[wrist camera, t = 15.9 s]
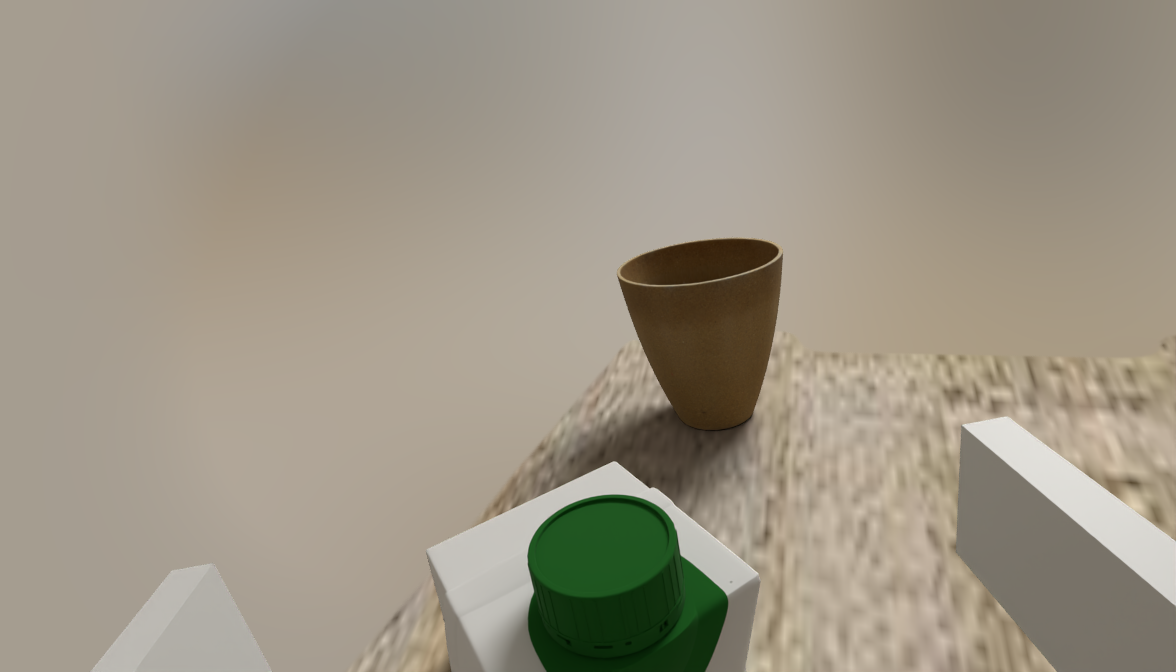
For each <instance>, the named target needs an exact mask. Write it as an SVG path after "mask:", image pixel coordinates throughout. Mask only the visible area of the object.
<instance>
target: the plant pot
mask: <svg viewBox="0 0 1176 672" xmlns="http://www.w3.org/2000/svg"><path fill="white" fill-rule="evenodd" d="M782 260H783V249H782V247H781V246H779V245H778V244H776V243H774V242H771V241H767V240H762V239H755V238H716V239H706V240H698V241H691V242H685V243H680V244H675V245H670V246H666V247H662V248H658V249H655V250H652V251H649V252H646V253H643V254H640V255H638V256H636V257H634V258H632V259H630V260H628V261H627V262H625V263H624V264H623V265H621V266H620V267H619V269H618V270H617V276H618V279H619V282H620V286H621V289H622V292H623V295H624V298H625V301H626V304H627V307H628V310H629V313H630V316H631V319H632V322H633V324H634V327H635V330H636V332H637V335H638V337H639V340H640V342H641V345H642V347H643V349H644V352H645V354H646V356H647V358H648V361H649V363H650V365H651V367H652V369H653V371H654V373H655V375H656V377H657V379H658V381H659V383H660V385H661V387H662V389H663V390H664V392H665V394H666V396H667V398H668V400H669V401H670V403H671V405H672V406H673V408H674V410H675V411H676V413H677V415H678V416H679V418H680V419H681V421H682V422H684V423H685V424H687V425H688V426H691V427H694V428H697V429H703V430H720V429H726V428H730V427H734V426H737V425H739V424H741V423H743V422H745V421H746V420H747V419H749V418H750V417H751V415H752V414H753V411H754V408H755V405H756V402H757V399H758V396H759V393H760V390H761V387H762V383H763V380H764V376H765V373H766V369H767V365H768V361H769V356H770V352H771V347H772V342H773V337H774V331H775V325H776V319H777V313H778V305H779V297H780V287H781V275H782Z"/></svg>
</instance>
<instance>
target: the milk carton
mask: <svg viewBox="0 0 1176 672" xmlns="http://www.w3.org/2000/svg"><path fill="white" fill-rule="evenodd" d="M426 554H427V557H428V562H429V565H430V569H431V573H432V576H433V580H434V584H435V587H436V591H437V595H438V598H439V602H440V606H441V610H442V614H443V618H444V622H445V632H446V641H447V649H448V655H449V661H450V667H451V672H746V660H747V654H748V649H749V643H750V637H751V632H752V626H753V621H754V615H755V609H756V604H757V598H758V593H759V587H760V581H761V580H760V578H759V574H758V573H757V572H756V571H755V570H754V569H752V568H751V567H750V566H749V565H748V564H746V563H745V562H744V561H743V560H741V559H740V558H739V557H738V556H737V555H735V554H734V553H733V552H732V551H730V550H729V549H728V548H727V547H726V546H724V545H723V544H722V543H721V542H719V541H718V540H717V539H716V538H714V537H713V536H712V535H711V534H710V533H708V532H707V531H706V530H705V529H703V528H702V527H701V526H700V525H699V524H697V523H696V522H695V521H694V520H692V519H691V518H690V517H689V516H688V515H686V514H685V513H684V512H683V511H681V510H680V509H679V508H678V507H676V506H675V505H674V503H673V502H672V501H671V500H670V499H669V498H668V497H667V496H665V495H664V494H663V493H662V492H660V491H659V490H658V489H656V488H650V489H649V488H648V487H647V486H646V485H644V484H643V483H642V482H641V481H639V480H638V479H637V478H636V477H634V476H633V475H632V474H631V473H629V472H628V471H627V470H626V469H624V468H623V467H622V466H621V465H619V464H618V463H617V462H615V461H613V462H611V463H609V464H607V465H604V466H602V467H600V468H598V469H596V470H594V471H592V472H590V473H588V474H585V475H583V476H581V477H579V478H577V479H575V480H573V481H571V482H568V483H566V484H564V485H562V486H560V487H558V488H556V489H554V490H551V491H549V492H547V493H545V494H543V495H541V496H539V497H537V498H535V499H532V500H530V501H528V502H526V503H524V504H522V505H520V506H518V507H515V508H513V509H511V510H509V511H507V512H505V513H503V514H501V515H499V516H496V517H494V518H492V519H490V520H488V521H486V522H484V523H482V524H479V525H477V526H475V527H473V528H471V529H469V530H467V531H465V532H462V533H460V534H458V535H456V536H454V537H452V538H450V539H448V540H446V541H443V542H442V543H439V544H437V545H435V546H433V547H431V548H429V549H427V550H426Z"/></svg>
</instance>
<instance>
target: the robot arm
mask: <svg viewBox="0 0 1176 672" xmlns="http://www.w3.org/2000/svg"><path fill="white" fill-rule="evenodd" d="M956 553H957V554H958V555H959V556H960V557H961V559H962V560H963V561H964V562H965V563H966V565H967V566H968V567H969V568H970V569H971V570H972V572H973V573H974V574H975V575H976V576H977V578H978V579H979V580H980V581H981V582H982V583H983V585H984V586H985V587H986V588H987V589H988V590H989V592H990V593H991V594H992V595H993V596H994V598H995V599H996V600H997V601H998V602H999V603H1000V605H1001V606H1002V607H1003V608H1004V609H1005V611H1006V612H1007V613H1008V614H1009V615H1010V616H1011V618H1012V619H1013V620H1014V621H1015V622H1016V624H1017V625H1018V626H1019V627H1020V628H1021V629H1022V631H1023V632H1024V633H1025V634H1026V635H1027V637H1028V638H1029V639H1030V640H1031V641H1032V642H1033V644H1034V645H1035V646H1036V647H1037V648H1038V650H1039V651H1040V652H1041V653H1042V654H1043V655H1044V657H1045V658H1046V659H1047V660H1048V661H1049V663H1050V664H1051V665H1052V666H1053V667H1054V668H1055V670H1056V671H1057V672H1176V541H1175V540H1173V539H1172V538H1171V537H1169V536H1168V535H1167V534H1165V533H1164V532H1163V531H1161V530H1160V529H1158V528H1157V527H1156V526H1154V525H1153V524H1152V523H1150V522H1149V521H1148V520H1146V519H1145V518H1144V517H1142V516H1141V515H1140V514H1138V513H1137V512H1136V511H1134V510H1133V509H1131V508H1130V507H1129V506H1127V505H1126V504H1125V503H1123V502H1122V501H1121V500H1119V499H1118V498H1117V497H1115V496H1114V495H1113V494H1111V493H1110V492H1109V491H1107V490H1106V489H1104V488H1103V487H1102V486H1100V485H1099V484H1098V483H1096V482H1095V481H1094V480H1092V479H1091V478H1090V477H1088V476H1087V475H1086V474H1084V473H1083V472H1082V471H1080V470H1079V469H1077V468H1076V467H1075V466H1073V465H1072V464H1071V463H1069V462H1068V461H1067V460H1065V459H1064V458H1063V457H1061V456H1060V455H1059V454H1057V453H1056V452H1054V451H1053V450H1052V449H1050V448H1049V447H1048V446H1046V445H1045V444H1044V443H1042V442H1041V441H1040V440H1038V439H1037V438H1036V437H1034V436H1033V435H1032V434H1030V433H1029V432H1027V431H1026V430H1025V429H1023V428H1022V427H1021V426H1019V425H1018V424H1017V423H1015V422H1014V421H1013V420H1011V419H1010V418H1009V417H1002V418H996V419H991V420H986V421H980V422H975V423H969V424H964V425H961V448H960V471H959V494H958V517H957V540H956ZM91 672H272V670H271V668H270V667H269V665H268V663H267V661H266V659H265V657H264V655H263V654H262V652H261V650H260V648H259V646H258V644H257V643H256V641H255V639H254V637H253V635H252V633H251V631H250V630H249V628H248V626H247V624H246V622H245V620H244V619H243V617H242V615H241V613H240V611H239V609H238V607H237V606H236V604H235V602H234V600H233V598H232V596H231V595H230V593H229V591H228V589H227V587H226V585H225V583H224V582H223V580H222V578H221V576H220V574H219V572H218V570H217V569H216V567H215V565H214V563H211V564H205V565H200V566H195V567H190V568H184V569H178V570H173V571H171V572H170V574H169V575H168V576H167V577H166V579H165V580H164V581H163V582H162V583H161V585H160V586H159V587H158V588H157V590H156V591H155V592H154V594H153V595H152V596H151V597H150V599H149V600H148V601H147V602H146V603H145V605H144V606H143V607H142V608H141V610H140V611H139V612H138V613H137V615H136V616H135V617H134V618H133V620H132V621H131V622H130V623H129V624H128V626H127V627H126V628H125V629H124V631H123V632H122V633H121V634H120V636H119V637H118V638H117V639H116V641H115V642H114V643H113V644H112V646H111V647H110V648H109V649H108V650H107V652H106V653H105V654H104V655H103V657H102V658H101V659H100V660H99V662H98V663H97V664H96V665H95V667H94V668H93V669H92V670H91Z"/></svg>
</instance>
